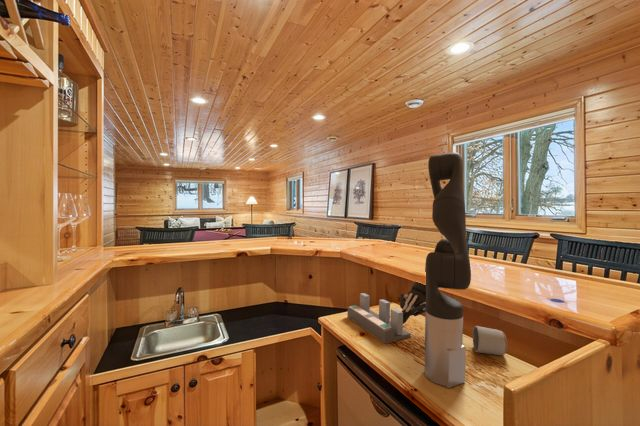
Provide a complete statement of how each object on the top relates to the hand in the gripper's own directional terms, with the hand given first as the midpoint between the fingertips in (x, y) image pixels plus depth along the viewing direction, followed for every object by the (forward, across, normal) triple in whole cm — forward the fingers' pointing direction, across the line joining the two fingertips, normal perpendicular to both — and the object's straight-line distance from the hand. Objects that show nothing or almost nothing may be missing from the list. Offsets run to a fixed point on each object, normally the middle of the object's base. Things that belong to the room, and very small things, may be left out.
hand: (400, 321), depth 102 cm
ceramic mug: (-9, +19, +17) cm, 27 cm away
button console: (+6, -10, +1) cm, 11 cm away
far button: (+4, -19, +1) cm, 20 cm away
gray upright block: (+2, -10, +3) cm, 10 cm away
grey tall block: (+3, 0, +1) cm, 4 cm away
